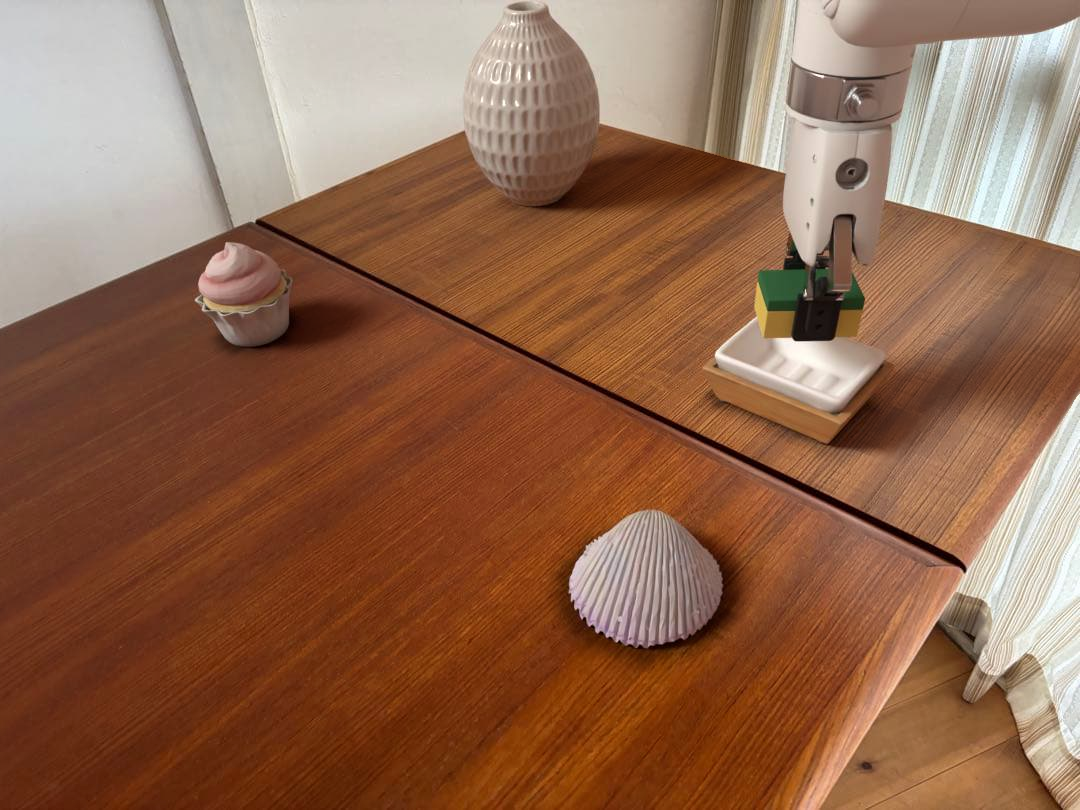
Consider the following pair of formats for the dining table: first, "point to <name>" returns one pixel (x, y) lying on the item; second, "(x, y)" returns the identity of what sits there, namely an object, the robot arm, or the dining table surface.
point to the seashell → (646, 581)
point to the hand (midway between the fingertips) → (805, 317)
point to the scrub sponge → (781, 297)
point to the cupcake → (245, 295)
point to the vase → (531, 107)
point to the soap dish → (797, 379)
